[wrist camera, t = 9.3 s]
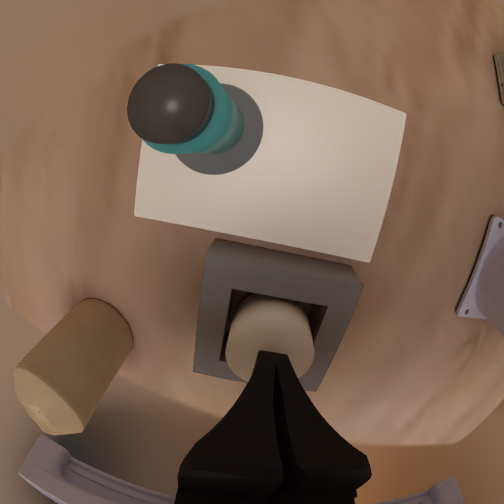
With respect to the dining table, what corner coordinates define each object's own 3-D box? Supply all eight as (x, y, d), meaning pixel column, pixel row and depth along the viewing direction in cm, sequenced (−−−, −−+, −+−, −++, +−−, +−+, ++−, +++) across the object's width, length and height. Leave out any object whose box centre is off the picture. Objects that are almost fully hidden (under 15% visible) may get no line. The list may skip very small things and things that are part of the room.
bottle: (249, 103, 12) (229, 58, 6) (237, 158, 14) (205, 162, 7) (193, 94, 12) (132, 54, 6) (181, 148, 13) (110, 148, 7)
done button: (317, 297, 15) (326, 329, 12) (296, 356, 16) (299, 390, 14) (239, 283, 15) (232, 313, 12) (227, 344, 16) (220, 378, 14)
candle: (66, 298, 18) (-12, 374, 9) (118, 295, 17) (34, 394, 8) (92, 353, 20) (35, 434, 10) (143, 356, 19) (90, 458, 10)
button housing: (350, 265, 16) (363, 285, 13) (312, 365, 18) (316, 391, 16) (215, 238, 16) (205, 254, 13) (201, 346, 18) (192, 371, 16)
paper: (404, 114, 12) (407, 113, 12) (368, 260, 15) (370, 263, 15) (159, 65, 12) (157, 63, 12) (136, 214, 15) (133, 216, 15)
